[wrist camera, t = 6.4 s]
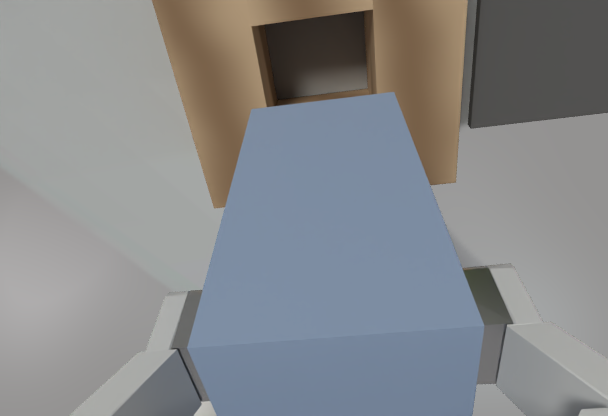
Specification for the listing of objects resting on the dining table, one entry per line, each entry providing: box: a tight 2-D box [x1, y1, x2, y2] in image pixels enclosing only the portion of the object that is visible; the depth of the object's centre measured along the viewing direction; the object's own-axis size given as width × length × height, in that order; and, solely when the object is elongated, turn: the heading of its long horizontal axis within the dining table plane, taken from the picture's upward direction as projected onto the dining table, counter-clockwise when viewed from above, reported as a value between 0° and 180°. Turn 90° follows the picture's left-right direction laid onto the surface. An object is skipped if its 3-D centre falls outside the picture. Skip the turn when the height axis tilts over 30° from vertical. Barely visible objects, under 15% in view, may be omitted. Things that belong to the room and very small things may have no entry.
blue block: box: [187, 92, 484, 416], centre depth 12 cm, size 4×4×9 cm
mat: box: [468, 0, 608, 128], centre depth 26 cm, size 10×10×1 cm
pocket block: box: [152, 0, 468, 208], centre depth 25 cm, size 14×14×5 cm
